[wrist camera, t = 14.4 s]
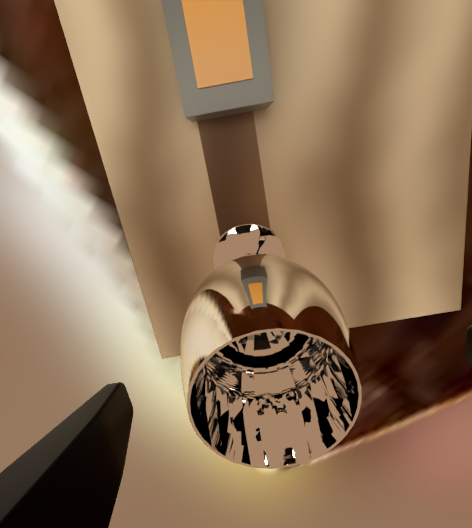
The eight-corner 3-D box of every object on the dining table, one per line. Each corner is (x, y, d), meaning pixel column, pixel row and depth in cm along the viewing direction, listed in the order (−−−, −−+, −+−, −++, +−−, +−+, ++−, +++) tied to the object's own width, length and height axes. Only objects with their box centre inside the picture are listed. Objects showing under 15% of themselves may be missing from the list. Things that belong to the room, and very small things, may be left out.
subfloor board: (473, -153, 15) (489, -173, 14) (450, 302, 22) (460, 309, 21) (44, -58, 16) (32, -71, 15) (164, 349, 23) (162, 358, 22)
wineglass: (243, 318, 21) (259, 510, 10) (181, 254, 20) (118, 398, 9) (314, 263, 20) (424, 411, 9) (255, 191, 19) (294, 259, 7)
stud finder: (249, -33, 15) (254, -76, 12) (267, 108, 17) (274, 100, 14) (165, -16, 15) (149, -54, 12) (192, 122, 17) (184, 117, 14)
